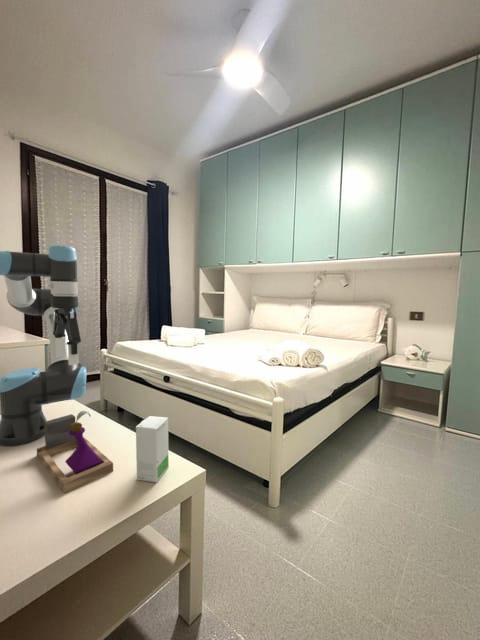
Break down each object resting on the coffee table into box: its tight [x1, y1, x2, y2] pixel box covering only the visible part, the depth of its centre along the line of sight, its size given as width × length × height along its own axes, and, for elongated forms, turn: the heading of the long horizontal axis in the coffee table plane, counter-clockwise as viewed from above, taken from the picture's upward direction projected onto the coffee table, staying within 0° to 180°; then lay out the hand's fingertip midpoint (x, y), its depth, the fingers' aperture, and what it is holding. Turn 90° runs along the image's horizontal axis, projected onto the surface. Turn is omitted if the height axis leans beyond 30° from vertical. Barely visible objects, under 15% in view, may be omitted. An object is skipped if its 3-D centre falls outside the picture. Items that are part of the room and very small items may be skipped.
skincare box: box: [135, 415, 170, 483], centre depth 86 cm, size 8×7×16 cm
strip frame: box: [36, 414, 114, 494], centre depth 90 cm, size 24×13×10 cm, turn 48°
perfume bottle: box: [64, 410, 102, 475], centre depth 85 cm, size 8×8×18 cm
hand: (67, 360), depth 98 cm, fingers open, 13 cm apart
